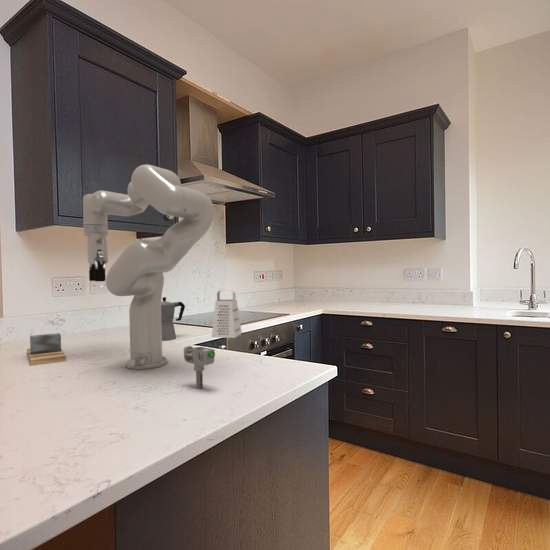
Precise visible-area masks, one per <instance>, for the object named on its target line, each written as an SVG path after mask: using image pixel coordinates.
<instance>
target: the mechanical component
mask: <svg viewBox="0 0 550 550" xmlns="http://www.w3.org/2000/svg"><path fill="white" fill-rule="evenodd" d="M215 355H216V352H215V349H214V348H209V347H204V346H196V347H193V346H191V345H187V346H185V347H183V360H184V361H185V362H186V363H188V364H193V366H194V367H193V370H194V371H195V375H196V376H195V379H196V380H195V381H196V382H195V385H196V389H201V388H204V387H203V386H204V384H203V382H204V381H203V376H204V375H203V371H204V370H205V366H208V365H212V364H214V362H215V357H216V356H215Z"/></svg>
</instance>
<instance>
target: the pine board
mask: <svg viewBox="0 0 550 550" xmlns="http://www.w3.org/2000/svg"><path fill="white" fill-rule="evenodd" d="M26 353H27V357H28V361H29V363H30V366H37V365H44V364H49V363H50V364H51V363H59V362H60V363H61V362H66V361H67V356H66V354H65V353H64V351H63V350H62V349H61V351H60V352H52V353H43V354H35V355H31V351H30V348H26Z"/></svg>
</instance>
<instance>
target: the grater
mask: <svg viewBox="0 0 550 550" xmlns="http://www.w3.org/2000/svg"><path fill="white" fill-rule="evenodd" d="M222 291H223V292H231V293H232V299H221V292H222ZM213 311H214V313H213V321H212V322H213V323H212V332H211V338H222V339H223V338H227V339H229V338H230V339H235V338H237V337H239V336H240V335H242V333H243V331H242V327H241V326H242V325H241V320H240V313H239V307H238V299H236V292H235V290H233V289H232V290H229V289H228V290H227V289H226V290H225V289H223V290H221V289H220V290H218V291H217V292H216V300H215V303H214V310H213Z"/></svg>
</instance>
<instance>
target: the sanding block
mask: <svg viewBox="0 0 550 550" xmlns="http://www.w3.org/2000/svg"><path fill="white" fill-rule="evenodd" d="M61 335H62V334H61V333H60V332H56V333H48V334H47V333H45V334H44V333H43V334H37V335H29V339H30V341H29V344H30V345H29V346H30V351H31V355H35V354H43V353H52V352H60V351H61V350H62V336H61Z"/></svg>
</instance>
